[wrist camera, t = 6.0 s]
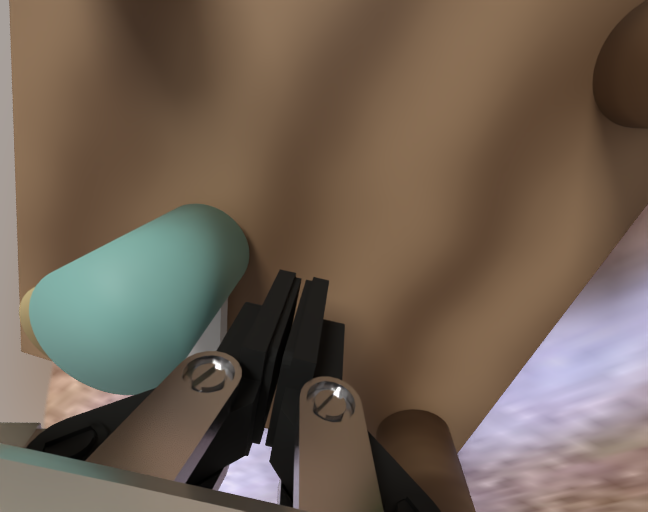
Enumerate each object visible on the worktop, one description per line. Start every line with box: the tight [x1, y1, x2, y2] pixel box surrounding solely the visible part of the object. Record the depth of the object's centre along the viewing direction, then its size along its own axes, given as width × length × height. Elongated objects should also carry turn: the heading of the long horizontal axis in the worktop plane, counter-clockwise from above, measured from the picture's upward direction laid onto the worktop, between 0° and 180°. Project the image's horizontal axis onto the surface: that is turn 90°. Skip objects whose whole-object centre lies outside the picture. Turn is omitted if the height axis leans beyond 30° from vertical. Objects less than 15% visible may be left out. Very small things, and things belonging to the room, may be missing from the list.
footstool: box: [9, 0, 648, 512], centre depth 11 cm, size 22×22×8 cm
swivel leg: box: [29, 204, 249, 395], centre depth 11 cm, size 4×10×6 cm, turn 172°
